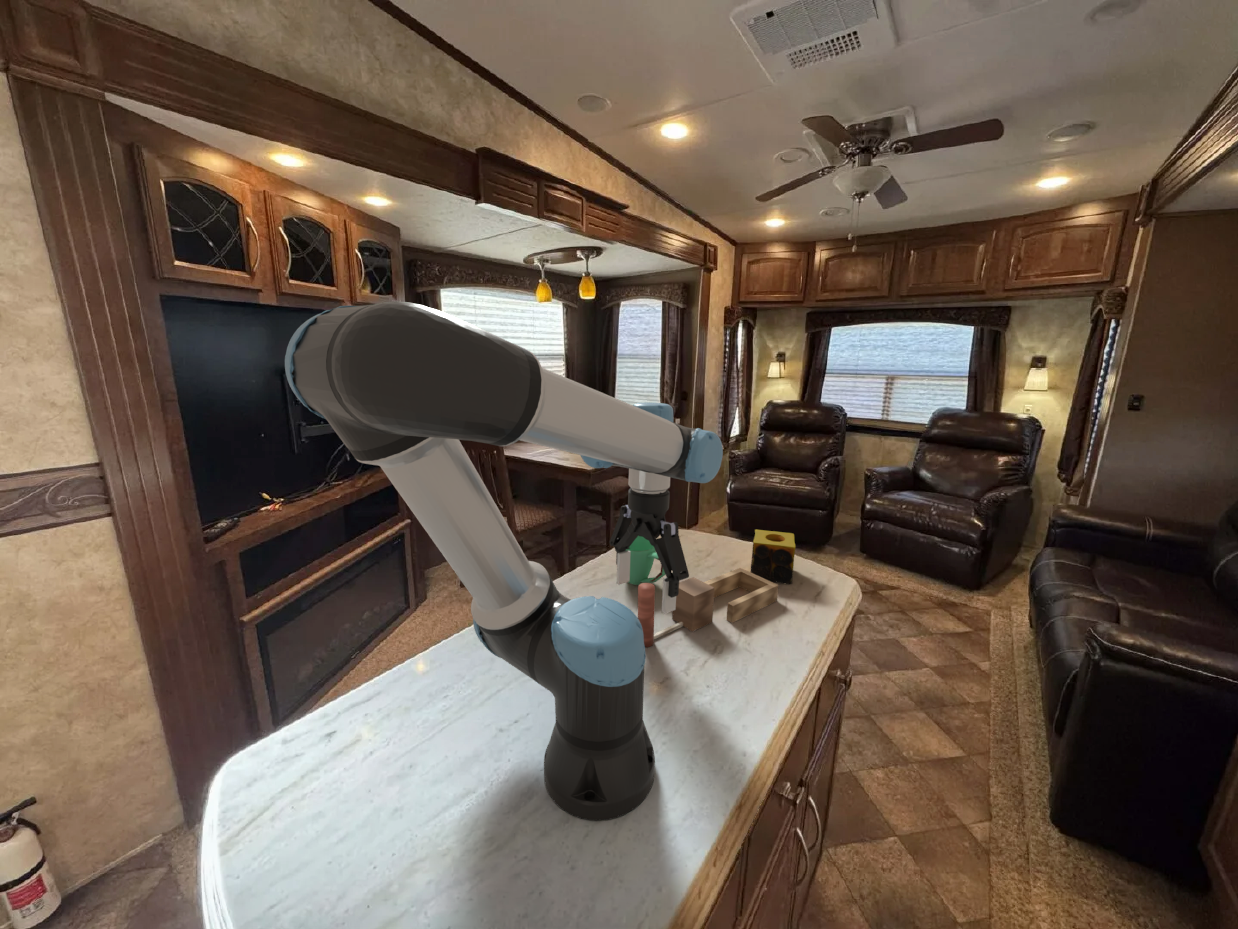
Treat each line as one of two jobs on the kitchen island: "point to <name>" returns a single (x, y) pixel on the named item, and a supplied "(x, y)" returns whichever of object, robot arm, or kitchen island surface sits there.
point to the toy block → (773, 556)
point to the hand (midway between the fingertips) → (644, 596)
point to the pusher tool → (677, 608)
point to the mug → (642, 562)
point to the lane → (749, 603)
